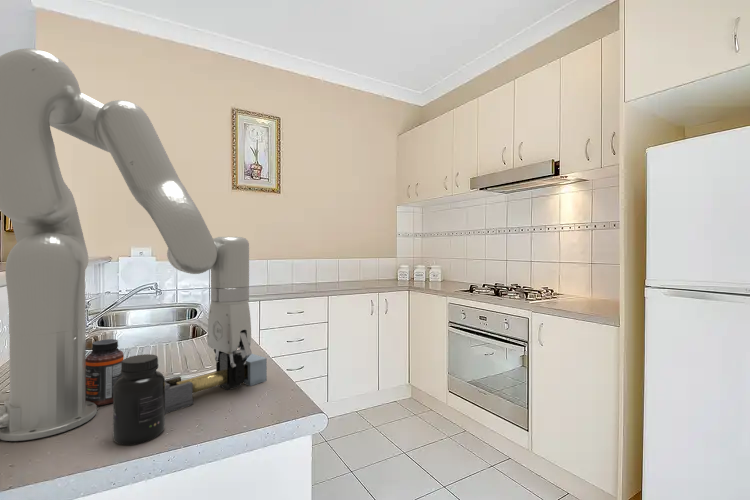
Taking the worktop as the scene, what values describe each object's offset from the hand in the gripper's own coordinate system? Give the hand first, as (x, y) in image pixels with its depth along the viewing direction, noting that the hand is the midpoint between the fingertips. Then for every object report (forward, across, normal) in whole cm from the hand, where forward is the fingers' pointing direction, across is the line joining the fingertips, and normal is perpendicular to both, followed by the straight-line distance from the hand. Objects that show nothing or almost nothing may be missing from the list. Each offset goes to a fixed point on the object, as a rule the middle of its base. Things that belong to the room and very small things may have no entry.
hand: (230, 381), depth 78 cm
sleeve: (+1, 0, -14) cm, 14 cm away
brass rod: (+1, 0, -3) cm, 3 cm away
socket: (+1, 0, +5) cm, 5 cm away
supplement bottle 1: (+1, -12, -19) cm, 22 cm away
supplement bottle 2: (+1, +8, -20) cm, 21 cm away
